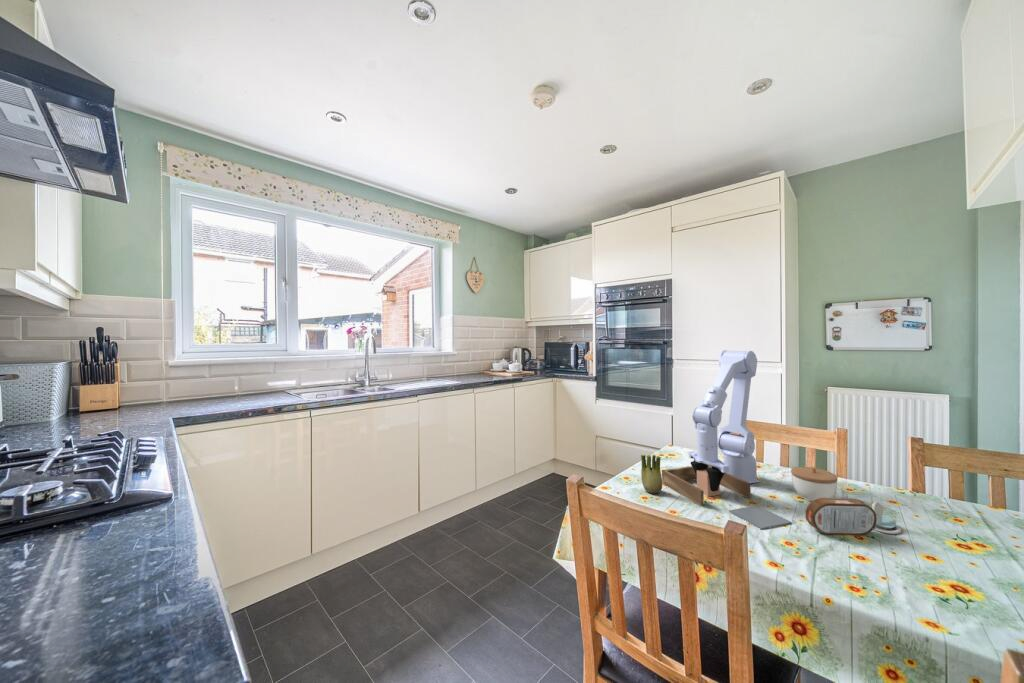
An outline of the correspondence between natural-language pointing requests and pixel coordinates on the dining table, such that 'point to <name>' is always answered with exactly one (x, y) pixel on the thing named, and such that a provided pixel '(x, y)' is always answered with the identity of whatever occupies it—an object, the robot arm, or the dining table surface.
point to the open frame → (678, 483)
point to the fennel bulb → (651, 474)
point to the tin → (841, 516)
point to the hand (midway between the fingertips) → (708, 487)
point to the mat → (760, 517)
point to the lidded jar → (814, 483)
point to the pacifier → (884, 520)
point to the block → (705, 483)
